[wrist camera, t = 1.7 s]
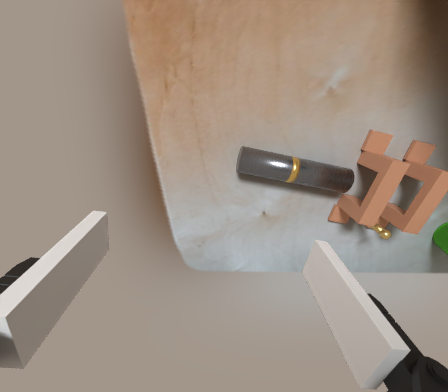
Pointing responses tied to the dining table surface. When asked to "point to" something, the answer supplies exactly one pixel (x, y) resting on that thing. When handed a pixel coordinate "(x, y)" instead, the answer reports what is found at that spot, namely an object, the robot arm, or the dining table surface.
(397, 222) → the collar
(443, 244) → the cup
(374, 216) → the collar
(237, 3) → the dining table surface
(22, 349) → the robot arm
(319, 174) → the tube
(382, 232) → the pointer post
